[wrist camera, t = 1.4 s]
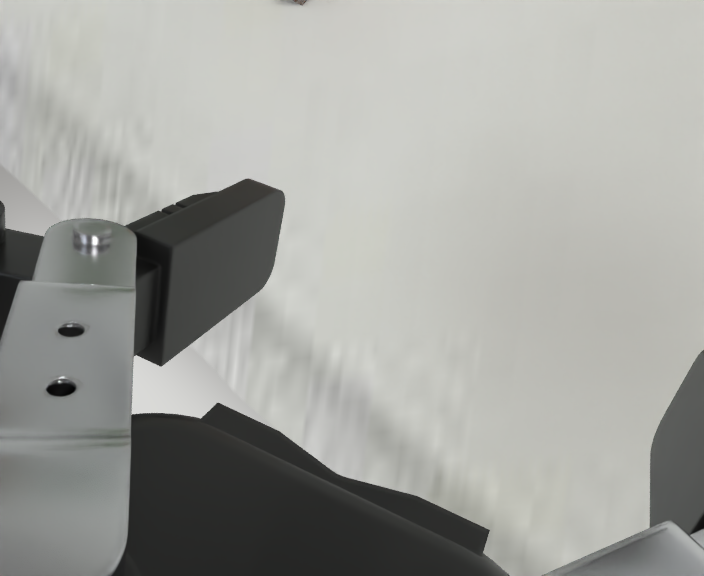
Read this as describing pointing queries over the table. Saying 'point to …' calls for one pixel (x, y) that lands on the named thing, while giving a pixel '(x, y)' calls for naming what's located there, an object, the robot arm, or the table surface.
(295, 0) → the rod stand
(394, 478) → the table surface
